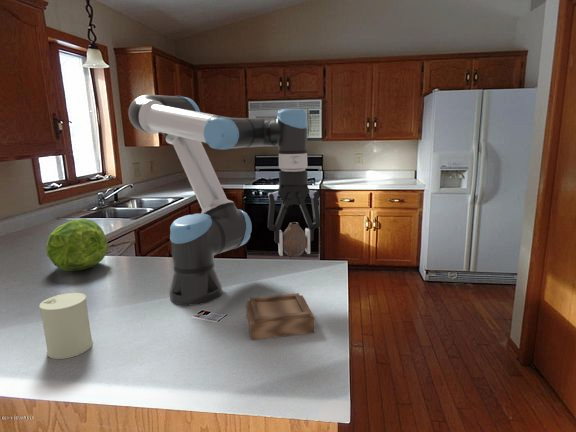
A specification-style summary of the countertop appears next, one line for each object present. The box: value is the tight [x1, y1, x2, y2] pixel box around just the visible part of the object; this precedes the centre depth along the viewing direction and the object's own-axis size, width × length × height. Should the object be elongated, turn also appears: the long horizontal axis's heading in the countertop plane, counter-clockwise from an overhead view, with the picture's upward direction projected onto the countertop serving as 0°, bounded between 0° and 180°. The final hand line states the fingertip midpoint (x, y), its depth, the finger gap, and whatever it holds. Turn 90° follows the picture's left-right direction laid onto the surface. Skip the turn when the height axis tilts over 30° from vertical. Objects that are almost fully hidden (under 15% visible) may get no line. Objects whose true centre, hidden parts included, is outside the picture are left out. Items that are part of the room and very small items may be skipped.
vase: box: [282, 221, 307, 257], centre depth 109 cm, size 7×7×9 cm
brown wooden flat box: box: [245, 292, 315, 341], centre depth 99 cm, size 15×13×5 cm
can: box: [38, 292, 94, 360], centre depth 90 cm, size 9×9×12 cm
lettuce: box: [45, 218, 109, 272], centre depth 144 cm, size 19×23×18 cm
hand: (294, 253), depth 110 cm, fingers closed on vase, 7 cm apart
